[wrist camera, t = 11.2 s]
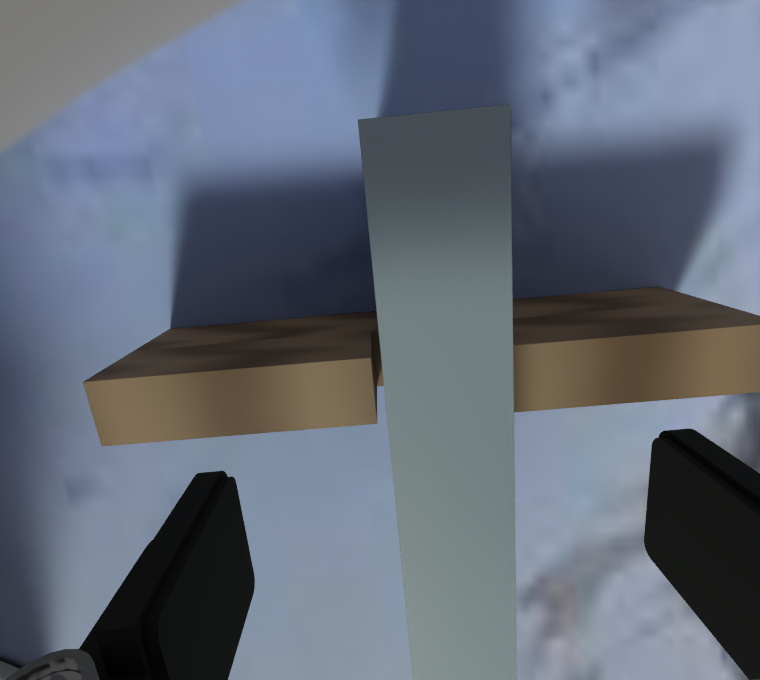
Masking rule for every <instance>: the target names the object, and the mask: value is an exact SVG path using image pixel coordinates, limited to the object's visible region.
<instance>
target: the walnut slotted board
mask: <svg viewBox="0 0 760 680" xmlns="http://www.w3.org/2000/svg"><path fill="white" fill-rule="evenodd" d="M83 384H84V387H85V391H86V394H87V397H88V401H89V404H90V408H91V411H92V415H93V418H94V422H95V425H96V428H97V432H98V435H99V439H100V442H101V446H111V445H123V444H135V443H147V442H159V441H172V440H184V439H196V438H208V437H220V436H232V435H244V434H257V433H269V432H281V431H293V430H305V429H317V428H329V427H342V426H354V425H366V424H377V386H384V380H383V370H382V360H381V350H380V339H379V329H378V319H377V311H373V312H361V313H349V314H338V315H326V316H315V317H303V318H291V319H280V320H268V321H257V322H245V323H233V324H222V325H210V326H199V327H187V328H175V329H169V330H167V331H166V332H164V333H162V334H161V335H159V336H158V337H156V338H154V339H153V340H151V341H149V342H148V343H146V344H144V345H143V346H141V347H140V348H138V349H136V350H135V351H133V352H131V353H130V354H128V355H126V356H125V357H123V358H122V359H120V360H118V361H117V362H115V363H113V364H112V365H110V366H108V367H107V368H105V369H104V370H102V371H100V372H99V373H97V374H95V375H94V376H92V377H91V378H89V379H87V380H86V381H84V382H83ZM513 386H514V412H524V411H536V410H548V409H560V408H572V407H585V406H597V405H609V404H621V403H633V402H645V401H657V400H670V399H682V398H694V397H706V396H718V395H730V394H742V393H755V392H760V316H758V315H755V314H751V313H748V312H745V311H741V310H738V309H734V308H731V307H728V306H724V305H721V304H717V303H714V302H711V301H707V300H704V299H700V298H697V297H693V296H690V295H687V294H683V293H680V292H676V291H673V290H670V289H666V288H663V287H651V288H640V289H628V290H616V291H605V292H593V293H582V294H570V295H558V296H547V297H535V298H524V299H513Z"/></svg>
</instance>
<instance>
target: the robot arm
mask: <svg viewBox="0 0 760 680" xmlns="http://www.w3.org/2000/svg"><path fill="white" fill-rule="evenodd" d="M644 543H645V548H646V551H647V553H648V555H649V557H650V558H651V560H652V561H653V562H654V563H655V564H656V566H657V567H658V568H659V569H660V571H661V572H662V573H663V574H664V576H665V577H666V578H667V579H668V580H669V582H670V583H671V584H672V585H673V587H674V588H675V589H676V590H677V592H678V593H679V594H680V595H681V596H682V598H683V599H684V600H685V601H686V603H687V604H688V605H689V606H690V607H691V609H692V610H693V611H694V612H695V614H696V615H697V616H698V617H699V619H700V620H701V621H702V622H703V623H704V625H705V626H706V627H707V628H708V630H709V631H710V632H711V633H712V634H713V636H714V637H715V638H716V639H717V641H718V642H719V643H720V644H721V646H722V647H723V648H724V649H725V650H726V652H727V653H728V654H729V655H730V657H731V658H732V659H733V660H734V661H735V663H736V664H737V665H738V666H739V668H740V669H741V670H742V671H743V673H744V674H745V675H746V676H747V677H748V679H749V680H760V474H759V473H758V472H757V471H755V470H754V469H752V468H751V467H749V466H748V465H746V464H745V463H743V462H742V461H740V460H739V459H737V458H736V457H734V456H733V455H731V454H730V453H728V452H727V451H725V450H724V449H722V448H721V447H719V446H718V445H716V444H715V443H713V442H712V441H710V440H709V439H707V438H706V437H704V436H703V435H701V434H700V433H698V432H697V431H695V430H693V429H680V430H669V431H663V432H661V433H660V435H659V438H656V439H654V441H653V443H652V451H651V463H650V475H649V487H648V499H647V511H646V523H645V535H644ZM254 584H255V580H254V572H253V567H252V562H251V557H250V551H249V546H248V541H247V536H246V531H245V526H244V521H243V516H242V511H241V506H240V500H239V495H238V490H237V485H236V481H235V479H234V477H227V474H226V473H225V472H224V471H216V472H205V473H197V474H196V475H195V477H194V478H193V480H192V481H191V483H190V484H189V486H188V487H187V489H186V490H185V492H184V493H183V495H182V496H181V498H180V500H179V501H178V503H177V504H176V506H175V507H174V509H173V510H172V512H171V513H170V515H169V516H168V518H167V519H166V521H165V523H164V524H163V526H162V527H161V529H160V530H159V532H158V533H157V535H156V536H155V538H154V539H153V540H152V541H151V542H150V543H149V544H148V545H147V547H146V548H145V550H144V551H143V553H142V554H141V556H140V557H139V559H138V560H137V562H136V563H135V565H134V566H133V568H132V569H131V571H130V573H129V574H128V576H127V577H126V579H125V580H124V582H123V583H122V585H121V586H120V588H119V589H118V591H117V592H116V594H115V595H114V597H113V598H112V600H111V601H110V603H109V604H108V606H107V607H106V609H105V610H104V612H103V614H102V615H101V617H100V618H99V620H98V621H97V623H96V624H95V626H94V627H93V629H92V630H91V632H90V633H89V635H88V636H87V638H86V639H85V641H84V642H83V644H82V645H81V647H80V648H79V649H64V650H60V651H56V652H53V653H49V654H47V655H44V656H42V657H40V658H38V659H36V660H34V661H32V662H30V663H28V664H27V665H25V666H24V667H22V668H21V669H20V668H17V667H15V666H13V665H10V664H8V663H5V662H3V661H0V680H228V677H229V674H230V670H231V667H232V664H233V660H234V657H235V654H236V650H237V647H238V643H239V640H240V637H241V633H242V630H243V627H244V623H245V620H246V617H247V613H248V610H249V607H250V603H251V600H252V597H253V593H254Z"/></svg>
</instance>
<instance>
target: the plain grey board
mask: <svg viewBox="0 0 760 680" xmlns="http://www.w3.org/2000/svg"><path fill="white" fill-rule="evenodd" d="M358 126H359V136H360V146H361V157H362V167H363V177H364V187H365V197H366V207H367V217H368V228H369V238H370V248H371V258H372V268H373V278H374V289H375V299H376V309H377V319H378V329H379V339H380V350H381V360H382V370H383V380H384V390H385V400H386V411H387V421H388V431H389V441H390V451H391V461H392V472H393V482H394V492H395V502H396V512H397V522H398V532H399V543H400V553H401V563H402V573H403V583H404V593H405V604H406V614H407V624H408V634H409V644H410V654H411V665H412V675H413V680H517V646H516V559H515V473H514V386H513V299H512V213H511V126H510V104H508V105H498V106H488V107H478V108H468V109H459V110H449V111H439V112H429V113H419V114H409V115H399V116H390V117H380V118H370V119H360V120H358Z"/></svg>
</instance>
